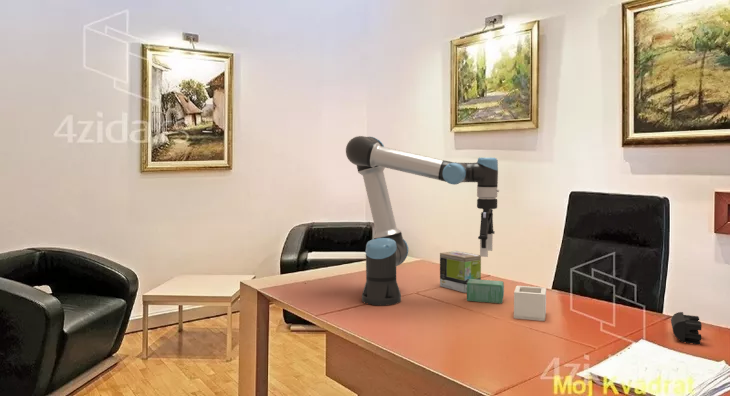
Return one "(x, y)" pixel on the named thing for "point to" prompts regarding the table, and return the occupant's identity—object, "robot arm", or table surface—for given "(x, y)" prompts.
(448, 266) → the tea box
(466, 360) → the table surface
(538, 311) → the tub
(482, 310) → the table surface
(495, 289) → the box
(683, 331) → the end cap
